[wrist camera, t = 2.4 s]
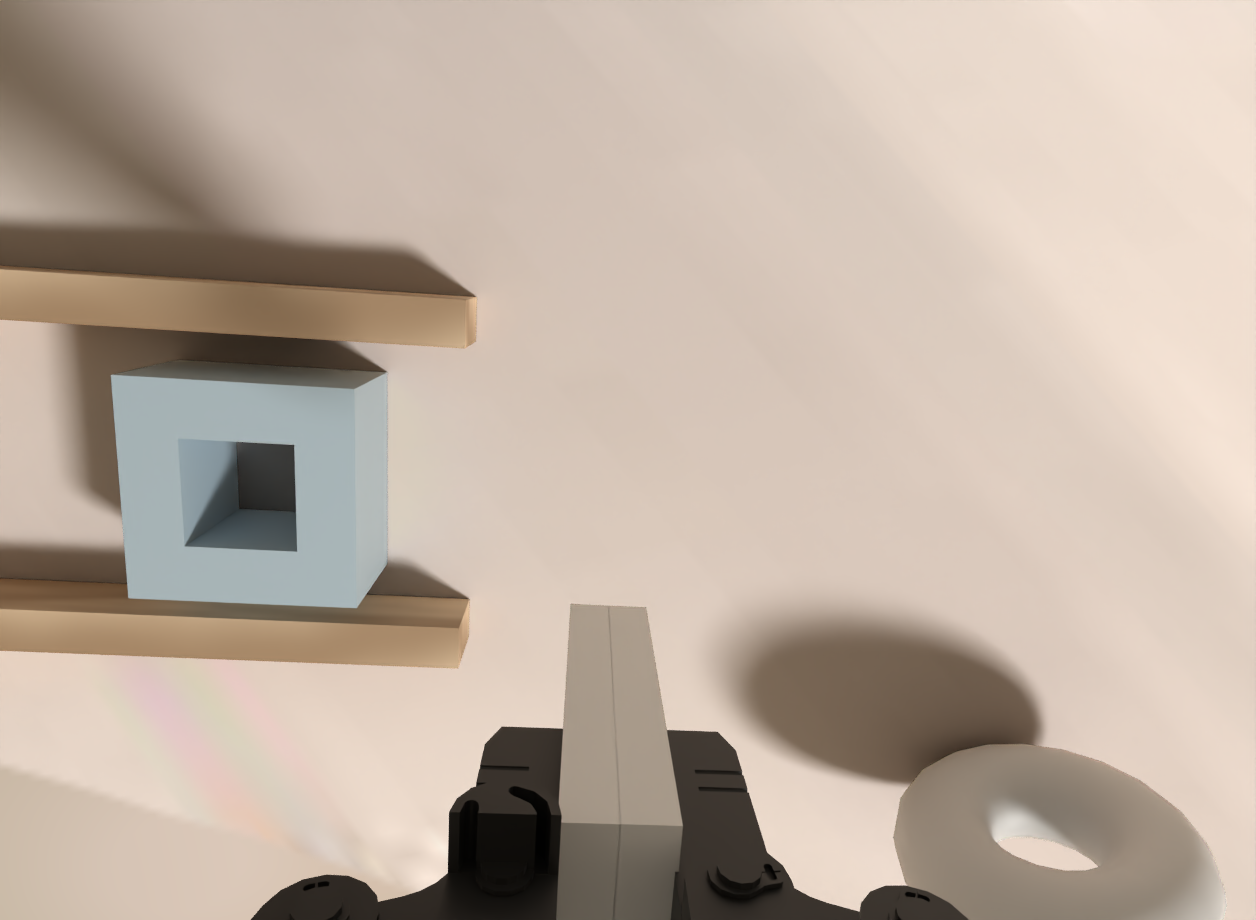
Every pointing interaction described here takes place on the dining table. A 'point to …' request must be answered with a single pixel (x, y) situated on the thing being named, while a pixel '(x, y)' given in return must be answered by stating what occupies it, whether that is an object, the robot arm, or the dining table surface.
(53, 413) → the dining table surface
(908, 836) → the donut
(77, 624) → the track
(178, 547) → the block
